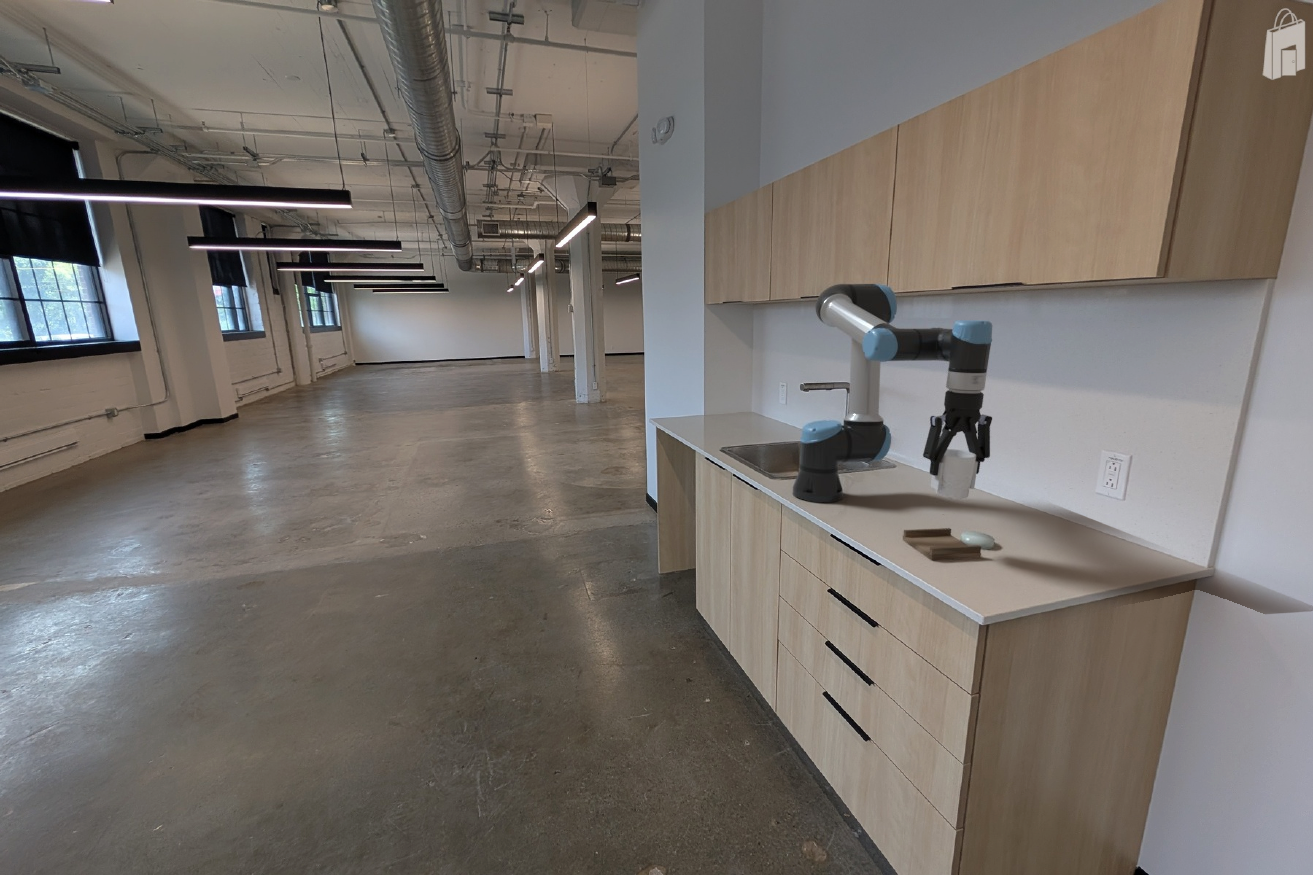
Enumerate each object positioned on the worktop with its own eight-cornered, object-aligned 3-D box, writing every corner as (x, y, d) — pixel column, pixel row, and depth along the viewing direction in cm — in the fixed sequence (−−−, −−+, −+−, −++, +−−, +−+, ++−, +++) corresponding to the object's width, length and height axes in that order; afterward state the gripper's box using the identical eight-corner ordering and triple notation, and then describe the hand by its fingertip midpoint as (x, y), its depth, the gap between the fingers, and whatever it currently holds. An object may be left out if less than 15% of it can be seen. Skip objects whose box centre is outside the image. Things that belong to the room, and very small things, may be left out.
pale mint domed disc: (954, 539, 136) (955, 532, 135) (980, 538, 136) (981, 530, 136) (973, 550, 129) (974, 543, 128) (1000, 549, 130) (1001, 541, 129)
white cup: (940, 487, 132) (945, 447, 130) (975, 494, 126) (981, 453, 124) (927, 494, 127) (932, 453, 124) (963, 502, 121) (969, 459, 119)
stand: (902, 539, 135) (903, 529, 134) (947, 537, 136) (948, 527, 135) (931, 560, 123) (932, 549, 122) (980, 557, 124) (981, 546, 124)
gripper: (932, 393, 116) (920, 494, 121) (1019, 392, 118) (1004, 491, 124) (912, 389, 123) (902, 484, 128) (994, 387, 126) (981, 481, 131)
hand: (952, 487), depth 126 cm, fingers closed on white cup, 8 cm apart
